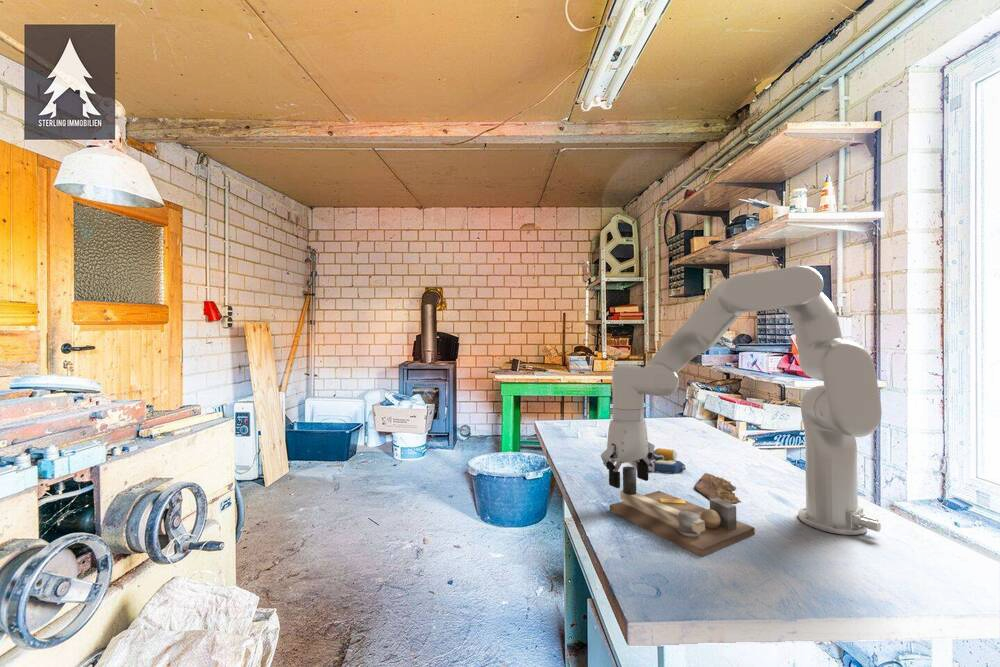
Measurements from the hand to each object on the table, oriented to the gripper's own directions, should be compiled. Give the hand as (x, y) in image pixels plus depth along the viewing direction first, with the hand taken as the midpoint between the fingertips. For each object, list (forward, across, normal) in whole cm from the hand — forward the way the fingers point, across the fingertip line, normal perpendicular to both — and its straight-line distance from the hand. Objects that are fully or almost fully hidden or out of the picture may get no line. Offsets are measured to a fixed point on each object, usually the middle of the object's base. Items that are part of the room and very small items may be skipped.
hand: (628, 482), depth 109 cm
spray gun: (+8, -37, -22) cm, 43 cm away
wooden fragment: (+8, -32, +1) cm, 33 cm away
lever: (+5, 0, +9) cm, 10 cm away
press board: (+7, -5, +10) cm, 13 cm away
